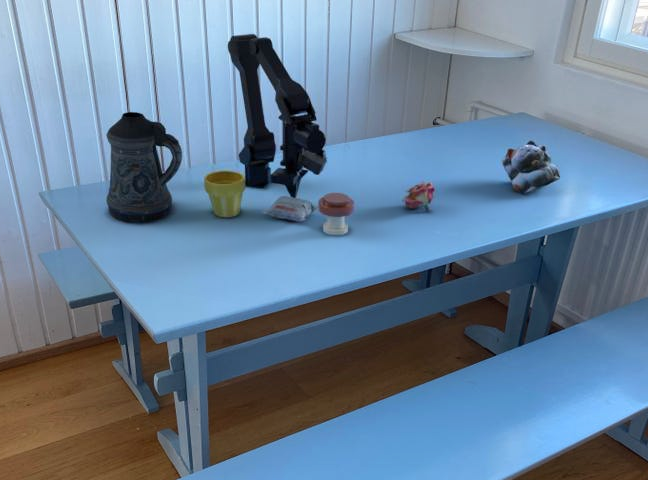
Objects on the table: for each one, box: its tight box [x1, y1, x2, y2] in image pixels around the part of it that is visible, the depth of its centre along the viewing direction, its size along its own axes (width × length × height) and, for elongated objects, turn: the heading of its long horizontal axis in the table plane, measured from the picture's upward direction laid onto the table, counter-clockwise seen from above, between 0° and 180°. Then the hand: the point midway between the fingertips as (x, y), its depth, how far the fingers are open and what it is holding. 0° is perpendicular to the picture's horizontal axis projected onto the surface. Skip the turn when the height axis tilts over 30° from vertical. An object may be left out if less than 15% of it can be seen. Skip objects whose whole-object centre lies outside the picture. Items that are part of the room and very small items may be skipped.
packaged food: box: [262, 195, 318, 222], centre depth 192 cm, size 9×12×5 cm
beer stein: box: [105, 111, 183, 224], centre depth 186 cm, size 16×19×25 cm
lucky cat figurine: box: [501, 140, 561, 195], centre depth 216 cm, size 15×12×14 cm
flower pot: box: [203, 169, 246, 218], centre depth 191 cm, size 10×10×10 cm
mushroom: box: [317, 192, 355, 236], centre depth 186 cm, size 9×9×9 cm
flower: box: [401, 180, 435, 212], centre depth 199 cm, size 10×9×8 cm
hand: (293, 198), depth 198 cm, fingers closed
